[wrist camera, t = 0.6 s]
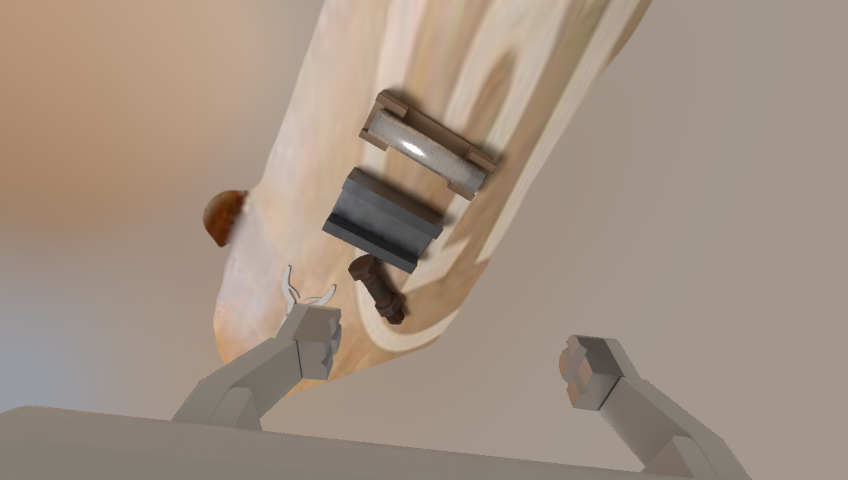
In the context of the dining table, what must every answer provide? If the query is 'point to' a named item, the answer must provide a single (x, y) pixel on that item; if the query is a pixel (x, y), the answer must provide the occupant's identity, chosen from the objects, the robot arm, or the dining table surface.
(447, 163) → the axle
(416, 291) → the dining table surface
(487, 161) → the beam
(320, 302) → the pliers
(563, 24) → the dining table surface
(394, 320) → the bolt
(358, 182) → the v block
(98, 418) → the robot arm
